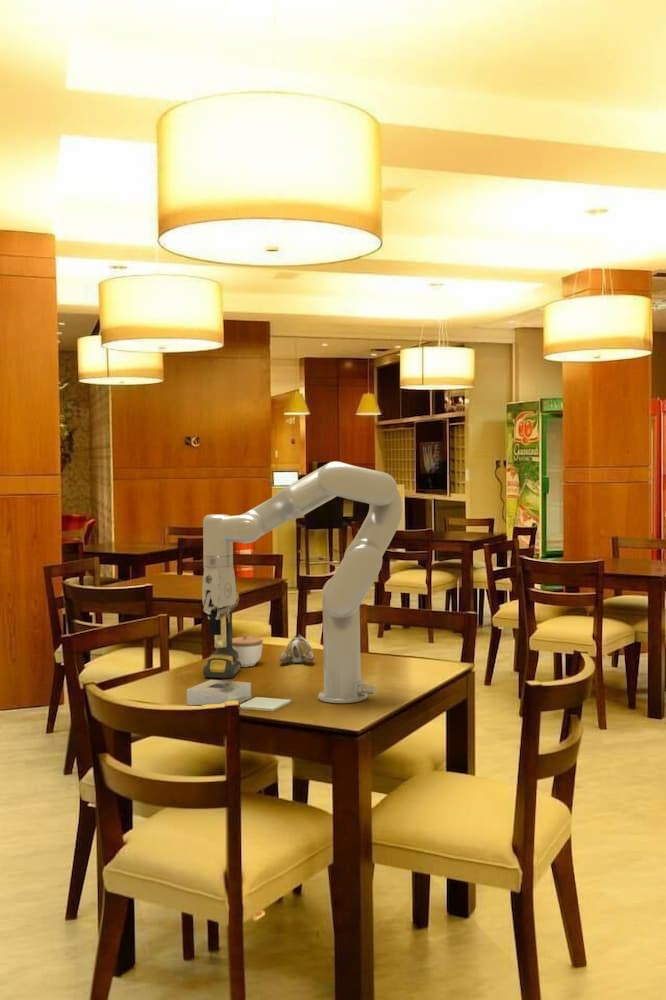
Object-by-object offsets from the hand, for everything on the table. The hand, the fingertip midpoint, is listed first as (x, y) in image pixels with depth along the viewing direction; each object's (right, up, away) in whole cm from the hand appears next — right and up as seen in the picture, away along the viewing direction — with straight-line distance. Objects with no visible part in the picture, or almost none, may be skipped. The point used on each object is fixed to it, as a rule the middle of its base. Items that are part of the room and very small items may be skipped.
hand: (218, 632), depth 251 cm
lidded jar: (+3, -16, +47) cm, 50 cm away
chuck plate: (0, -18, 0) cm, 18 cm away
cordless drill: (-3, -17, +31) cm, 35 cm away
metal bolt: (0, -3, 0) cm, 4 cm away
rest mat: (+12, -17, -5) cm, 22 cm away
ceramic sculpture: (+19, -16, +50) cm, 56 cm away
